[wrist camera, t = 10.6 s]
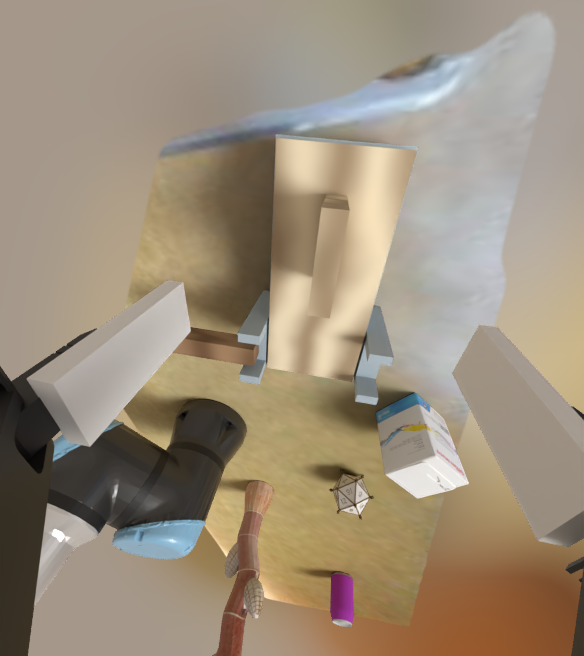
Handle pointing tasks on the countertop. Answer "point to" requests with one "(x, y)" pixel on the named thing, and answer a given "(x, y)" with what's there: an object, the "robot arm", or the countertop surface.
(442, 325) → the countertop surface
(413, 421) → the ink box
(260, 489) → the vase
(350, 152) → the lid
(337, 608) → the beverage can
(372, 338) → the grey box with brackets
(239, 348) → the cross bar
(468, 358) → the robot arm
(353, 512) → the game die
